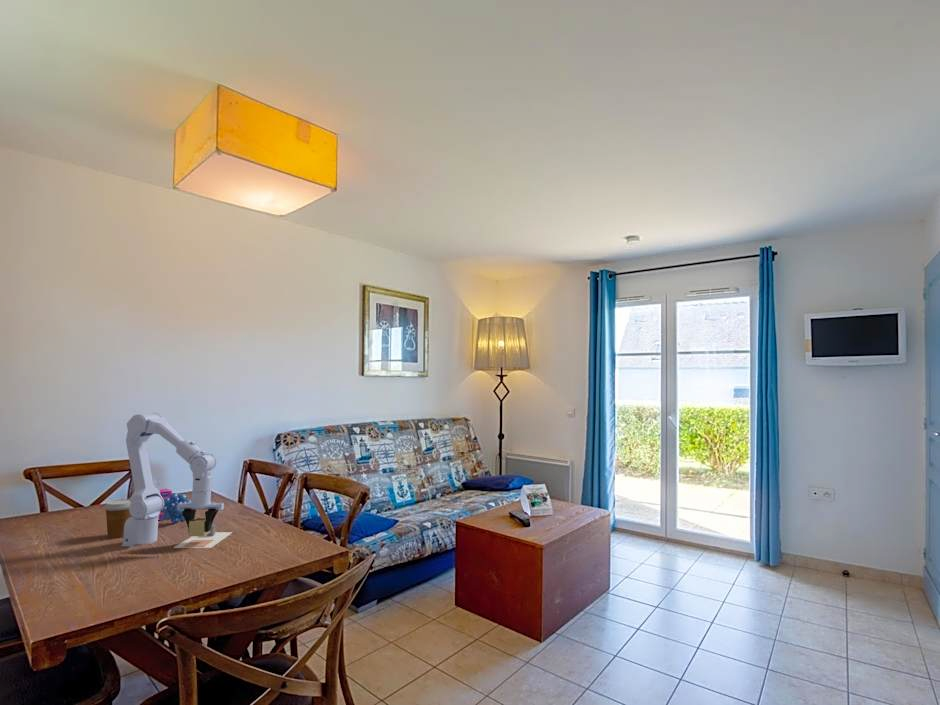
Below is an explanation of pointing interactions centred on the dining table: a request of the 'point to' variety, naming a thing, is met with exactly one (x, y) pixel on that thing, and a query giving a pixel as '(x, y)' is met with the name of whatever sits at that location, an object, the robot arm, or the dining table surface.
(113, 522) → the disposable coffee cup
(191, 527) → the sleeve
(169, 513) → the grapes
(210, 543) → the board
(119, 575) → the dining table surface
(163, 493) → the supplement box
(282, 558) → the dining table surface
